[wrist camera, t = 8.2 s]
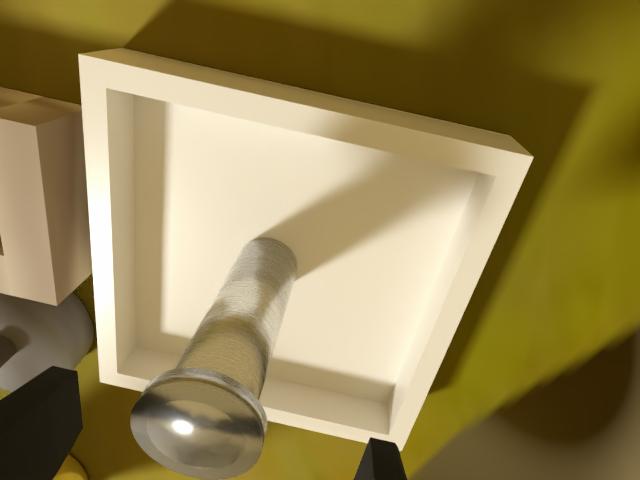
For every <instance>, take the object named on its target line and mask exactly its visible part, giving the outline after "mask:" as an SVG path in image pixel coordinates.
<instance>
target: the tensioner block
mask: <svg viewBox="0 0 640 480" xmlns="http://www.w3.org/2000/svg"><path fill="white" fill-rule="evenodd" d="M92 273H93V270H92V254H91V239H90V224H89V209H88V194H87V179H86V164H85V149H84V134H83V119H82V105H79V104H74V103H70V102H66V101H61V100H57V99H52V98H48V97H44V96H39V95H35V94H30V93H26V92H21V91H17V90H13V89H8V88H4V87H0V388H1V389H4V390H7V391H11V392H13V391H15V390H16V389H18V388H19V387H21V386H22V385H24V384H25V383H27V382H28V381H30V380H31V379H33V378H34V377H36V376H37V375H39V374H40V373H42V372H43V371H45V370H46V369H48V368H49V367H51V366H56V367H61V368H65V369H70V370H74V368H75V367H76V366H77V365H78V364H79V362H80V361H81V360H82V359H83V358H84V356H85V355H86V354H87V353H88V352H89V350H90V349H91V346H92V344H93V340H94V328H93V323H92V320H91V317H90V315H89V313H88V311H87V309H86V308H85V306H84V305H83V303H82V302H81V301H80V299H79V298H78V297H77V296H76V295H75V294H74V293H73V291H74V290H75V289H76V288H77V287H78V286H79V285H80V284H81V283H82V282H83V281H84V280H85V279H86V278H88V277H89V276H90V275H91V274H92Z"/></svg>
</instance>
